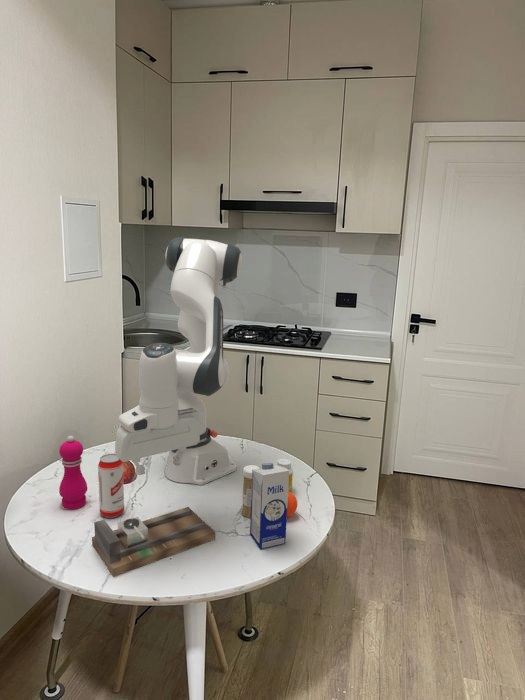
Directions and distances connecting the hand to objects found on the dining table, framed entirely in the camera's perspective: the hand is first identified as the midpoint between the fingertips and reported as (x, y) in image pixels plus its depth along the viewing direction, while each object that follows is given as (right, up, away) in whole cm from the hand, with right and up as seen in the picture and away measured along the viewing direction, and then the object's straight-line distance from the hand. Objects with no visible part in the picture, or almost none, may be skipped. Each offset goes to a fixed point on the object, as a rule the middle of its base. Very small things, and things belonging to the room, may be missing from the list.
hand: (159, 468), depth 125 cm
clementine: (+30, -17, +17) cm, 39 cm away
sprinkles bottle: (+21, -16, +18) cm, 32 cm away
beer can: (-16, -16, +16) cm, 27 cm away
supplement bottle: (+30, -14, +30) cm, 45 cm away
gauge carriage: (-5, -17, -1) cm, 18 cm away
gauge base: (-2, -19, +4) cm, 19 cm away
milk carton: (+26, -19, +7) cm, 33 cm away
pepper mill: (-27, -14, +19) cm, 36 cm away
